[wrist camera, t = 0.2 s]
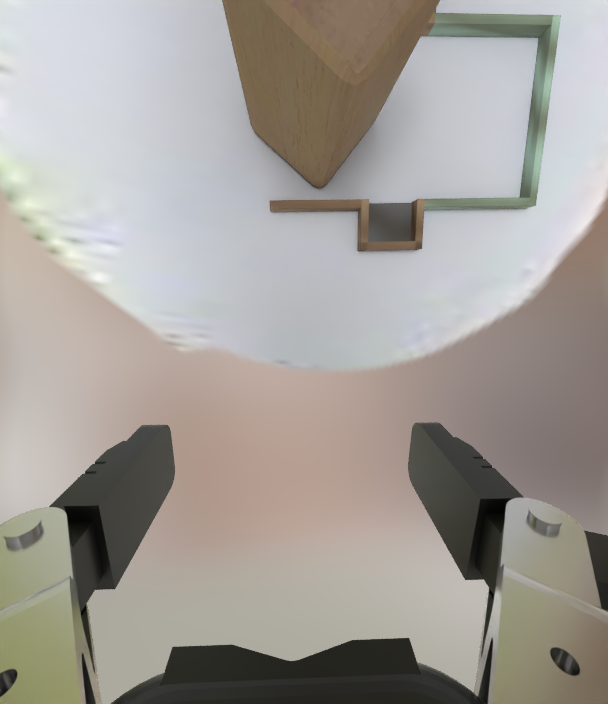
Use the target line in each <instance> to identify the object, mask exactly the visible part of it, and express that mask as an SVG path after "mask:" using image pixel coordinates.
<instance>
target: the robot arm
mask: <svg viewBox="0 0 608 704" xmlns="http://www.w3.org/2000/svg"><path fill="white" fill-rule="evenodd" d="M408 471H409V477H410V480H411V483H412V485H413V487H414V489H415V491H416V492H417V494H418V496H419V498H420V500H421V501H422V503H423V505H424V506H425V509H426V510H427V512H428V514H429V516H430V517H431V519H432V521H433V523H434V525H435V526H436V528H437V530H438V532H439V533H440V535H441V537H442V539H443V541H444V543H445V544H446V546H447V548H448V550H449V551H450V553H451V555H452V557H453V559H454V561H455V562H456V564H457V566H458V568H459V569H460V571H461V573H462V575H463V577H464V578H465V580H478V579H484V580H485V582H486V583H487V585H488V586H489V589H488V593H487V598H486V606H485V614H484V622H483V630H482V637H481V645H480V653H479V662H478V670H477V676H476V682H475V688H474V693H473V692H472V691H471V690H469V689H468V688H466V687H465V686H463V685H462V684H460V683H459V682H458V681H456V680H454V679H453V678H451V677H449V676H448V675H446V674H444V673H442V672H440V671H438V670H436V669H434V668H431V667H429V666H427V665H423V664H420V663H417V661H416V658H415V655H414V652H413V649H412V646H411V642H410V640H409V638H398V639H371V640H352V641H349V642H346V643H344V644H341V645H338V646H335V647H333V648H330V649H328V650H325V651H322V652H319V653H317V654H314V655H311V656H308V657H306V658H303V659H300V660H297V661H286V660H283V659H279V658H276V657H273V656H269V655H266V654H262V653H259V652H255V651H252V650H248V649H245V648H241V647H238V646H235V645H213V646H188V647H173V648H172V651H171V654H170V657H169V660H168V663H167V666H166V669H165V673H163V674H160V675H157V676H155V677H153V678H151V679H149V680H147V681H145V682H143V683H141V684H139V685H137V686H136V687H134V688H132V689H131V690H129V691H128V692H126V693H124V694H123V695H122V696H120V697H119V698H117V699H116V700H115V701H114V702H112V703H111V704H608V536H607V535H602V534H597V533H593V532H588V531H584V530H583V529H582V527H581V526H580V525H579V524H578V523H577V522H576V521H575V520H574V519H573V518H572V517H570V516H569V515H568V514H566V513H565V512H563V511H562V510H560V509H558V508H556V507H554V506H552V505H550V504H548V503H545V502H542V501H539V500H536V499H531V498H524V497H523V496H522V495H521V494H520V493H519V492H518V491H517V490H516V489H515V488H514V487H513V486H512V485H511V484H510V483H509V482H508V481H507V480H506V479H505V478H504V477H503V476H502V475H500V473H499V472H498V471H497V470H496V469H495V468H492V465H490V463H488V462H487V461H486V460H485V459H483V457H482V456H481V455H480V454H479V453H478V452H477V451H476V450H475V449H474V448H473V447H472V446H471V445H469V444H467V443H465V442H464V441H462V440H460V439H459V438H456V437H453V436H452V435H451V434H450V433H449V432H448V431H447V430H446V429H445V428H444V427H443V426H442V425H441V424H440V423H415V424H414V425H413V428H412V436H411V444H410V453H409V462H408ZM174 474H175V465H174V456H173V447H172V439H171V431H170V428H169V426H168V425H142V426H141V427H140V428H139V429H138V430H137V431H136V432H135V433H134V434H133V435H132V436H131V437H130V438H129V439H128V440H127V441H122V442H121V443H119V444H117V445H115V446H114V447H112V448H110V449H108V450H107V451H106V452H105V453H104V454H103V455H102V456H100V458H99V459H97V460H96V461H95V464H92V465H91V466H90V467H89V468H88V469H87V470H86V471H85V474H82V475H81V476H80V477H79V478H78V479H77V480H76V481H75V482H74V483H73V484H72V485H71V486H70V487H69V488H68V489H67V490H66V491H65V492H64V493H63V494H62V495H61V496H60V497H59V498H58V499H57V500H56V501H55V502H54V503H53V504H51V505H50V506H49V507H45V508H39V509H35V510H31V511H28V512H26V513H23V514H20V515H18V516H16V517H14V518H12V519H10V520H8V521H6V522H4V523H3V524H1V525H0V704H102V701H101V695H100V689H99V682H98V675H97V668H96V661H95V654H94V646H93V639H92V631H91V624H90V617H89V610H88V607H87V602H88V600H89V598H90V597H91V595H92V594H93V592H94V590H100V589H115V588H116V586H117V585H118V583H119V581H120V579H121V577H122V575H123V574H124V572H125V570H126V568H127V567H128V565H129V563H130V561H131V559H132V558H133V556H134V554H135V552H136V550H137V549H138V546H139V545H140V543H141V541H142V539H143V538H144V536H145V534H146V532H147V530H148V529H149V527H150V525H151V523H152V521H153V519H154V518H155V516H156V514H157V512H158V511H159V509H160V507H161V505H162V503H163V501H164V500H165V498H166V496H167V494H168V492H169V490H170V489H171V486H172V484H173V480H174Z"/></svg>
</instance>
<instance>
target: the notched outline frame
mask: <svg viewBox="0 0 608 704" xmlns="http://www.w3.org/2000/svg"><path fill="white" fill-rule="evenodd" d="M560 17H561V15H513V14H455V13H436V9H435V11H434V12H433V14H432V16H431V18H430V20H429V22H428V24H427V25H426V27H425V29H424V31H423V33H422V35H421V36H486V37H539V43H538V51H537V59H536V68H535V76H534V84H533V92H532V101H531V109H530V117H529V126H528V134H527V142H526V150H525V159H524V167H523V175H522V183H521V192H520V198H460V199H417V200H415V201H414V202H412V203H384V204H369V200H281V201H270V210H271V212H306V211H358V251H385V250H418V249H422V236H423V219H424V210H462V209H526V208H529V207H532V206H535V205H536V199H537V192H538V184H539V177H540V169H541V161H542V154H543V146H544V139H545V131H546V123H547V116H548V108H549V101H550V93H551V86H552V78H553V70H554V63H555V55H556V48H557V40H558V33H559V25H560Z"/></svg>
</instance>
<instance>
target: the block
mask: <svg viewBox="0 0 608 704" xmlns="http://www.w3.org/2000/svg"><path fill="white" fill-rule="evenodd" d="M439 1H440V0H222V2H223V6H224V10H225V15H226V19H227V23H228V28H229V32H230V36H231V41H232V45H233V49H234V54H235V58H236V62H237V67H238V71H239V75H240V80H241V84H242V88H243V93H244V97H245V101H246V106H247V110H248V114H249V119H250V123H251V126H252V128H253V130H254V132H255V133H256V134H257V135H258V136H260V137H261V138H262V139H263V140H264V141H265V142H266V143H267V144H268V145H269V146H271V147H272V148H273V149H274V150H275V151H276V152H277V153H278V154H279V155H280V156H281V157H283V158H284V159H285V160H286V161H287V162H288V163H289V164H290V165H291V166H292V167H294V168H295V169H296V170H297V171H298V172H299V173H300V174H301V175H302V176H303V177H304V178H306V179H307V180H308V181H309V182H310V183H311V184H312V185H313V186H316V187H319V188H321V187H323V186H325V185H326V184H327V183H328V182H329V180H330V179H331V178H332V176H333V175H334V174H335V173H336V171H337V170H338V169H339V167H340V166H341V165H342V163H343V162H344V161H345V159H346V158H347V157H348V156H349V154H350V153H351V152H352V150H353V149H354V148H355V146H356V145H357V144H358V142H359V141H360V140H361V138H362V137H363V136H364V135H365V133H366V132H367V131H368V129H369V128H370V127H371V125H372V124H373V123H374V121H375V120H376V118H377V116H378V114H379V112H380V111H381V109H382V107H383V105H384V103H385V101H386V99H387V98H388V96H389V94H390V92H391V90H392V88H393V86H394V85H395V83H396V81H397V79H398V77H399V75H400V73H401V72H402V70H403V68H404V66H405V64H406V62H407V61H408V59H409V57H410V55H411V53H412V51H413V49H414V48H415V46H416V44H417V42H418V40H419V38H420V36H421V35H422V33H423V31H424V29H425V27H426V25H427V24H428V22H429V20H430V18H431V16H432V14H433V12H434V11H435V9H436V7H437V5H438V3H439Z"/></svg>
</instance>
